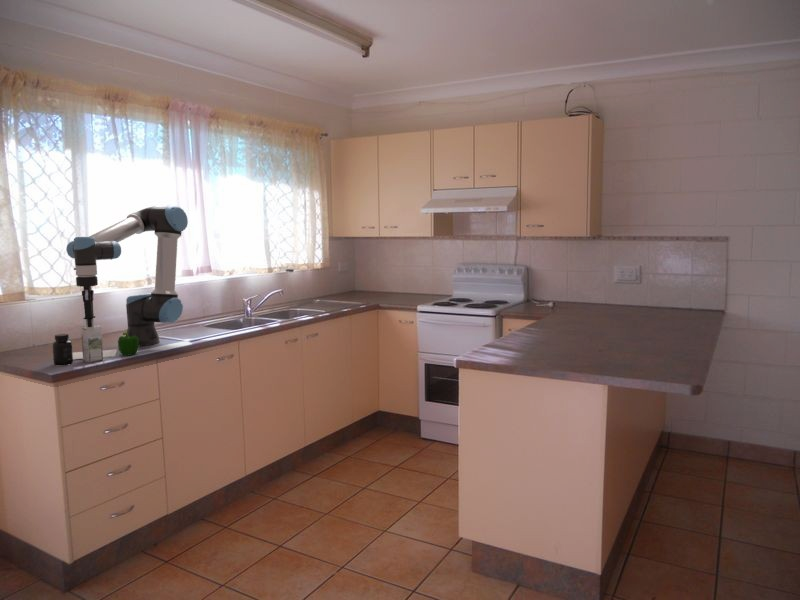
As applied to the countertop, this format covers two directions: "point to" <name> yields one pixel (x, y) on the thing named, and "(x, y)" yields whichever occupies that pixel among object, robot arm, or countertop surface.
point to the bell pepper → (128, 344)
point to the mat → (105, 354)
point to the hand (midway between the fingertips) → (90, 334)
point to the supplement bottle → (62, 350)
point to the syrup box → (92, 344)
